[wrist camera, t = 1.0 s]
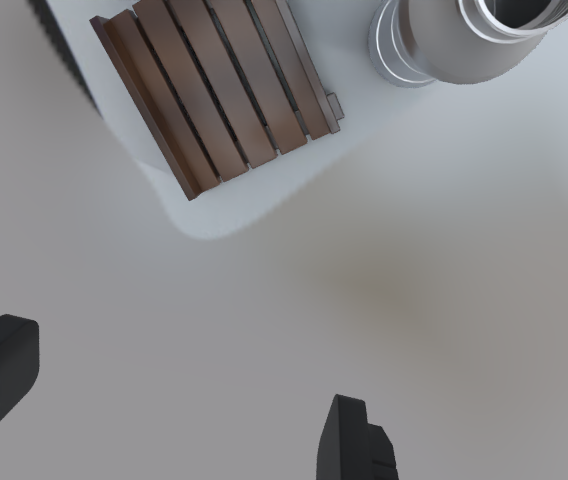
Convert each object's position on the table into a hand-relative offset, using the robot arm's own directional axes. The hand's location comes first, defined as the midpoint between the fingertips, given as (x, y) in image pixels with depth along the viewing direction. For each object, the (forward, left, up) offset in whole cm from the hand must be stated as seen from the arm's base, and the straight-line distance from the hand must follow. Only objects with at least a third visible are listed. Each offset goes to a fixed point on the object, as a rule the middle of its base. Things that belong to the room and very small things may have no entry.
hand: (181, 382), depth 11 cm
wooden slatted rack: (-6, -6, -26) cm, 28 cm away
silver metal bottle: (-13, +6, -26) cm, 30 cm away
